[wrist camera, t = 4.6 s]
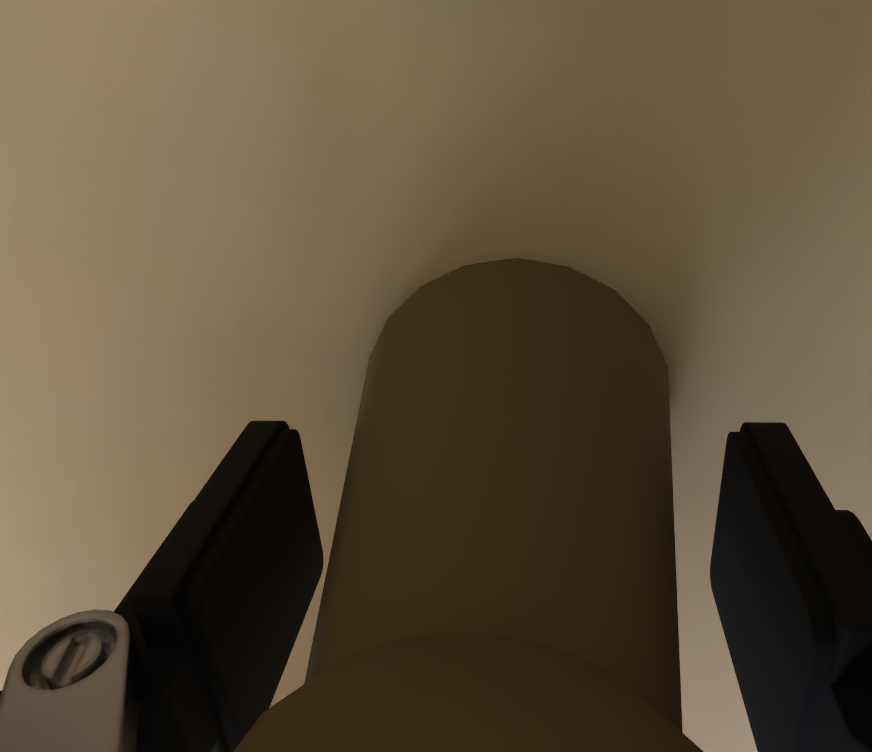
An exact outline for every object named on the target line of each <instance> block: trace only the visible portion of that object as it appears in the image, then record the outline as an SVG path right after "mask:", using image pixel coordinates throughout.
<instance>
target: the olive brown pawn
mask: <svg viewBox="0 0 872 752" xmlns="http://www.w3.org/2000/svg"><path fill="white" fill-rule="evenodd" d="M234 752H703V751H702V750H701V749H700V748H699V747H698V746H696V745H695V744H694V743H693V742H692V741H691V740H690V739H689V738H688V737H686V736H685V735H684V734H683V733H682V710H681V685H680V660H679V635H678V610H677V585H676V560H675V535H674V510H673V485H672V460H671V434H670V410H669V388H668V367H667V365H666V363H665V361H664V358H663V356H662V354H661V352H660V349H659V347H658V345H657V343H656V340H655V338H654V336H653V334H652V331H651V329H650V327H649V325H648V324H647V323H646V322H645V321H644V320H643V319H642V318H641V317H640V316H639V315H638V314H637V313H636V312H635V311H634V310H633V309H632V308H631V307H630V306H629V305H628V304H627V303H626V302H625V301H624V300H623V299H622V298H621V297H620V296H619V295H618V293H617V292H616V291H614V290H612V289H610V288H609V287H607V286H605V285H603V284H601V283H599V282H597V281H595V280H593V279H591V278H589V277H587V276H585V275H583V274H581V273H579V272H577V271H575V270H573V269H571V268H569V267H564V266H558V265H552V264H546V263H540V262H534V261H528V260H522V259H510V260H503V261H496V262H489V263H481V264H474V265H467V266H464V267H462V268H459V269H457V270H455V271H453V272H451V273H449V274H447V275H445V276H443V277H441V278H439V279H436V280H434V281H432V282H430V283H428V284H426V285H424V286H422V287H420V288H419V289H418V290H417V291H416V292H415V293H414V294H413V295H412V296H411V297H410V298H409V299H408V300H407V301H406V302H405V303H404V304H403V305H402V306H401V307H400V308H399V309H398V310H397V311H396V312H395V313H394V314H393V315H392V316H391V317H390V318H389V319H388V320H387V322H386V324H385V326H384V328H383V331H382V333H381V335H380V337H379V339H378V341H377V343H376V345H375V347H374V349H373V351H372V353H371V356H370V358H369V363H368V368H367V373H366V378H365V383H364V388H363V393H362V398H361V403H360V408H359V413H358V418H357V423H356V428H355V433H354V438H353V443H352V448H351V453H350V458H349V463H348V468H347V473H346V478H345V483H344V488H343V493H342V498H341V503H340V508H339V513H338V518H337V523H336V528H335V533H334V538H333V543H332V548H331V553H330V558H329V563H328V568H327V573H326V578H325V583H324V588H323V593H322V598H321V603H320V608H319V613H318V618H317V623H316V628H315V633H314V638H313V643H312V648H311V653H310V658H309V663H308V668H307V673H306V678H305V683H304V685H302V686H301V687H299V688H298V689H297V690H295V691H294V692H292V693H291V694H289V695H288V696H286V697H285V698H284V699H282V700H281V701H279V702H278V703H276V704H275V705H274V706H272V707H271V708H269V709H268V710H266V711H265V712H263V713H262V714H261V715H260V717H259V718H258V719H257V721H256V722H255V723H254V725H253V726H252V727H251V729H250V730H249V732H248V733H247V734H246V736H245V737H244V738H243V740H242V741H241V742H240V744H239V745H238V746H237V748H236V749H235V750H234Z"/></svg>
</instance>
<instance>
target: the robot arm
mask: <svg viewBox="0 0 872 752" xmlns="http://www.w3.org/2000/svg"><path fill="white" fill-rule="evenodd" d="M322 569H323V550H322V545H321V540H320V535H319V530H318V525H317V520H316V514H315V509H314V504H313V499H312V494H311V489H310V484H309V479H308V474H307V469H306V464H305V459H304V454H303V449H302V444H301V439H300V435H299V433H298V431H297V430H294V429H289V426H288V424H287V423H286V422H285V421H251V422H250V423H249V424H247V426H246V427H245V429H244V430H243V432H242V433H241V434H240V436H239V437H238V439H237V440H236V442H235V443H234V444H233V446H232V447H231V449H230V450H229V451H228V453H227V454H226V456H225V457H224V459H223V460H222V461H221V463H220V464H219V466H218V467H217V469H216V470H215V471H214V473H213V474H212V476H211V477H210V478H209V480H208V481H207V483H206V484H205V486H204V487H203V488H202V490H201V491H200V493H199V494H198V495H197V497H196V498H195V500H194V501H193V502H192V503H191V504H190V505H189V506H188V508H187V509H186V510H185V512H184V513H183V515H182V516H181V518H180V519H179V520H178V522H177V523H176V525H175V526H174V527H173V529H172V530H171V532H170V533H169V535H168V536H167V537H166V539H165V540H164V542H163V543H162V544H161V546H160V547H159V549H158V550H157V551H156V553H155V554H154V556H153V557H152V559H151V560H150V561H149V563H148V564H147V566H146V567H145V568H144V570H143V571H142V573H141V574H140V576H139V577H138V578H137V580H136V581H135V583H134V584H133V585H132V587H131V588H130V590H129V591H128V593H127V594H126V595H125V597H124V598H123V600H122V601H121V602H120V604H119V605H118V607H117V608H116V609H115V611H114V612H112V611H108V610H89V611H83V612H78V613H75V614H72V615H69V616H67V617H64V618H61V619H59V620H57V621H55V622H54V623H52V624H50V625H48V626H46V627H45V628H43V629H42V630H40V631H39V632H38V633H37V634H35V635H34V636H33V637H32V638H30V639H29V640H28V641H27V642H26V643H25V644H24V645H23V647H22V648H21V649H20V650H19V651H18V653H17V654H16V655H15V657H14V659H13V661H12V663H11V665H10V667H9V670H8V673H7V677H6V680H5V684H4V687H3V690H2V691H0V752H234V750H235V749H236V748H237V746H238V745H239V744H240V742H241V741H242V740H243V738H244V737H245V736H246V734H247V733H248V732H249V730H250V729H251V727H252V726H253V725H254V723H255V722H256V721H257V719H258V718H259V717H260V715H261V714H262V713H263V712H265V711H266V710H268V709H269V707H270V705H271V702H272V699H273V697H274V694H275V692H276V689H277V687H278V684H279V681H280V679H281V676H282V674H283V671H284V669H285V666H286V664H287V661H288V658H289V656H290V653H291V651H292V648H293V646H294V643H295V641H296V638H297V635H298V633H299V630H300V628H301V625H302V623H303V620H304V618H305V615H306V612H307V610H308V607H309V605H310V602H311V600H312V597H313V595H314V592H315V589H316V587H317V584H318V582H319V579H320V577H321V573H322ZM710 579H711V587H712V592H713V595H714V599H715V602H716V606H717V609H718V613H719V616H720V620H721V623H722V627H723V630H724V634H725V637H726V641H727V644H728V648H729V652H730V655H731V659H732V662H733V666H734V669H735V673H736V676H737V680H738V683H739V687H740V690H741V694H742V697H743V701H744V704H745V708H746V712H747V715H748V719H749V722H750V726H751V729H752V733H753V736H754V740H755V743H756V747H757V750H758V752H872V541H871V539H870V537H869V536H868V534H867V532H866V531H865V529H864V527H863V526H862V524H861V522H860V521H859V519H858V518H857V517H856V516H855V514H854V513H852V512H850V511H848V510H835V509H834V507H833V505H832V504H831V502H830V500H829V498H828V497H827V495H826V493H825V491H824V489H823V488H822V486H821V484H820V482H819V481H818V479H817V477H816V475H815V474H814V472H813V470H812V468H811V467H810V465H809V463H808V461H807V460H806V458H805V456H804V454H803V453H802V451H801V449H800V447H799V446H798V444H797V442H796V440H795V439H794V437H793V435H792V433H791V432H790V430H789V428H788V426H787V425H786V424H785V423H758V422H745V423H743V424H742V427H741V429H740V432H730V433H729V434H728V437H727V442H726V450H725V457H724V465H723V473H722V480H721V488H720V496H719V503H718V511H717V519H716V526H715V534H714V542H713V549H712V557H711V565H710Z"/></svg>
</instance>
